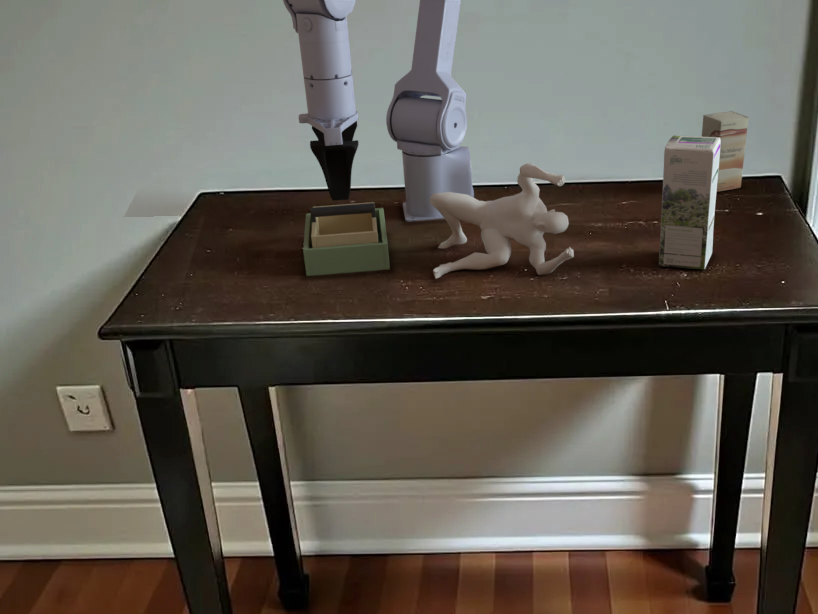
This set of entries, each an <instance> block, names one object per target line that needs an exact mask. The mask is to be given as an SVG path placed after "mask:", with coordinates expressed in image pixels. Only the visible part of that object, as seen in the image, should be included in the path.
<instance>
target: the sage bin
mask: <svg viewBox="0 0 818 614" xmlns="http://www.w3.org/2000/svg"><path fill="white" fill-rule="evenodd" d="M375 214H376V224H377V234H378V243H371V244H359V245H346V246H333V247H320V248H312V240H311V232H312V218H311V212H310V213H305V222H304V232H303V233H304V235H303V245H302V253H303V260H304V261H303V262H304V269H305V275H306V277H311V276H323V275H334V274H335V275H336V274H337V275H338V274H348V273H361V272H375V271H384V270H391V268H390V256H389V255H390V254H389V244H388V236H387V235H388V234H387V227H386V221H385V220H386V219H385V210H384V207H377V208H376V207H375Z"/></svg>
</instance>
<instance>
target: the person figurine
mask: <svg viewBox="0 0 818 614" xmlns="http://www.w3.org/2000/svg"><path fill="white" fill-rule="evenodd" d="M516 179H517V180H516V182H517V185H518V186H519V187H520V188H521V192H519V193H516V194H513V195H509V196H503V197H500V198H497V199H494V200H486V201H484V200H479V199H477V198H475V197H474V198H473V197H471V196H469V195H466V194H459V193H453V192H445V193H433V194H432V196H431V198H430V203H431V204H432V206H434V207H435V208H436V209H437V210H438V211H439V212H440V213H441V215H442V216H443V217H444V219H443V220H445V221H446V222H447V225H448V226H449V228H450V231H451V235H450V236H449V237H448V238H447V239H446V240H444V241H442V242H440V243H439V245H438V246H437V249H449V248H450V247H452V246H454V245H455V246H456V245H464V244H467V242H468V238H467V236H466V235H465V233H464V231H463V228H462V225H461V221H462V222H464V223H468V224H472V225H476V226H478V227H479V229H480V230H481V232H480V237H481V241H482V243H483V246H484V250H485V252H486V253H484V252H475V251H474V252H473V253H471V254H469V255H467V256H465V257H462V258H460V259H458V260H456V261H453V262H447V263H442V264H439V266H437V267H434V269H433V270H432V273H433V277H434V279H435V280H437V279H439V278H441V277H442V276H443V275H446V274H448V273H451V272H454V271H460V270H475V271H481V270H488V269H492V268H496V267H499V266H503V265H505V264H507V263H508V261H509V259H510V257H511V255H512V251H513V249H512V244H511V239H512V240H515V241H516V242H517V243H518V244H520V245H522V246H525V247H527V248H528V249H529V255H528V262H529V264H530V265H531V266H532V267H533V268H534V269H535V272H536V274H537V275H538V276H546V275H550V274H552V273H553V272H554V271H555V270H556V269H557V268H558V267H559V266H560V265H562V264H563V263H564V262H565V261H568V260H570V259H573V258H575V251H574V249H573V248H572V247H571V246H568V248H566V249H565V250H564V251H562V252H561V253H560V254H559V255H558V256H557V257H553V258H552V259H550V260H547V261H546V260H545V252H546V250H547V243H546V240H545V238H544V234H545V233H548V234H554V235H557V234H562V233H564V232H565V231H567V229H568V228H569V224H570V221H569V217H568V215H567V214H566V213H564V212H562V211H556V209H555V208H554V209H550V210H548V209H547V205H545V203H544V202H543V200H542V199H541V198H540V191H541V189H540V187H539V185H537V184H536V183H535V181H534V179H537V180H542V181H547V182H549V183H551V185H555V186H557V187H561V186H563V185H564V184H565V182H566V178H565V176H564V175H563V174H556V173H552V172H549V171H545V170H543V169H542V168H541V167H538V166H537V165H535V164H532V163H531V162H530V163H529V162H528V163H525V164H523V165H521V166H520V167H519V174H518V176H517V178H516Z"/></svg>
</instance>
